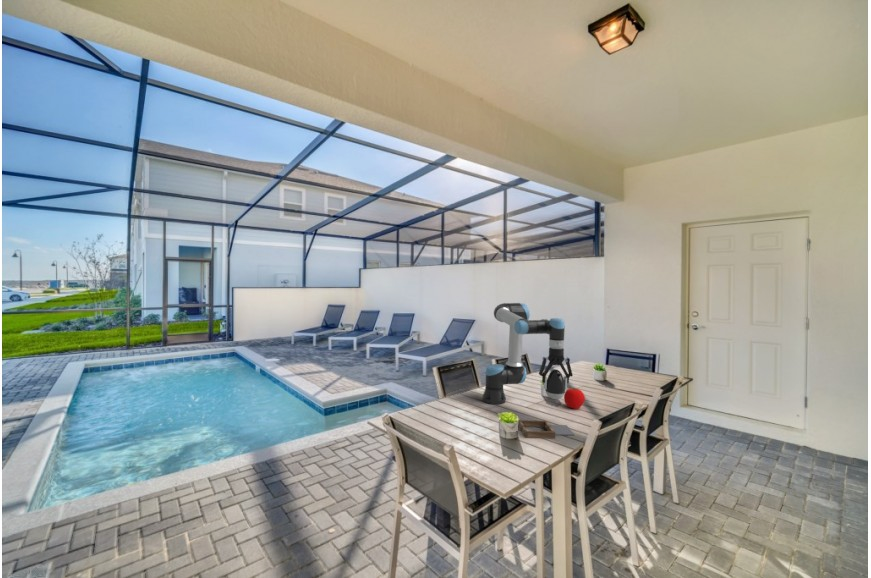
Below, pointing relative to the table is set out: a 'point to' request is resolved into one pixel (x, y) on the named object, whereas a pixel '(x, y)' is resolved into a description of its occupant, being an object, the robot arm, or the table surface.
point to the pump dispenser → (555, 385)
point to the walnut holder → (536, 434)
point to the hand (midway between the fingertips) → (555, 388)
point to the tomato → (574, 398)
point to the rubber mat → (562, 430)
